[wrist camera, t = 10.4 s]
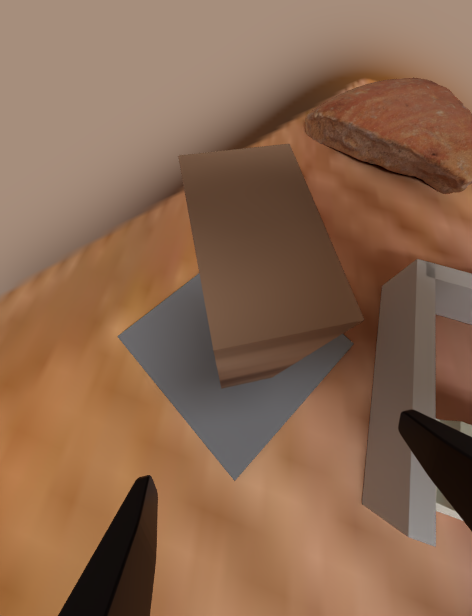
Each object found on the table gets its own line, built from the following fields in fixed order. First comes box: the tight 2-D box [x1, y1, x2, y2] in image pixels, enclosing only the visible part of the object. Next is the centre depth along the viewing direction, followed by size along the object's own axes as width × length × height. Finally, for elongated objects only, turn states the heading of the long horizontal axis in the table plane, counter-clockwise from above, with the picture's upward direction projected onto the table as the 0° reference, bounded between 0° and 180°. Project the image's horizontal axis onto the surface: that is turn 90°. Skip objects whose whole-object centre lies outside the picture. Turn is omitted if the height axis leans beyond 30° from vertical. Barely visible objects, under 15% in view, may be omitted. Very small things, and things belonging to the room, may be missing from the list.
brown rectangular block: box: [178, 144, 364, 389], centre depth 12 cm, size 6×4×12 cm, turn 12°
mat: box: [118, 273, 354, 481], centre depth 18 cm, size 12×12×1 cm
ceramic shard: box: [305, 78, 472, 194], centre depth 25 cm, size 15×6×15 cm
